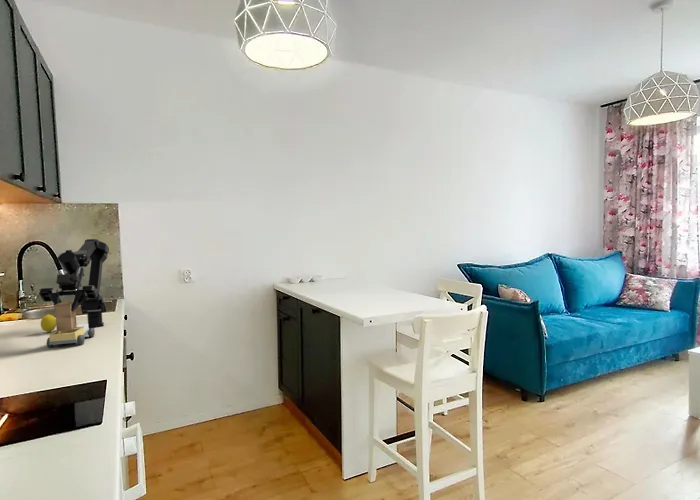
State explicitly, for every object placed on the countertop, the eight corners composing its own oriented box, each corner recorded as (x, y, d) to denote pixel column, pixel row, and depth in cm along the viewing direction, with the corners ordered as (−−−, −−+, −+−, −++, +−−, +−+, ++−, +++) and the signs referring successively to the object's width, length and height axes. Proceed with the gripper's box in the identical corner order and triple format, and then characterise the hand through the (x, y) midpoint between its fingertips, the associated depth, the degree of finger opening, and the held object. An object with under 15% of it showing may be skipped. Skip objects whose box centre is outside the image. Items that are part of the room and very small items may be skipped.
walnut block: (62, 328, 164) (60, 302, 164) (76, 326, 165) (74, 301, 165) (56, 331, 159) (54, 305, 159) (71, 330, 161) (69, 304, 160)
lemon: (60, 330, 185) (58, 312, 184) (50, 334, 180) (48, 315, 179) (48, 330, 186) (47, 312, 185) (38, 334, 180) (36, 315, 180)
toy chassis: (64, 337, 173) (63, 325, 173) (95, 335, 176) (94, 322, 175) (45, 349, 157) (44, 335, 157) (80, 346, 160) (79, 332, 160)
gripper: (38, 267, 162) (27, 301, 152) (93, 264, 167) (85, 297, 157) (49, 284, 171) (38, 317, 161) (101, 282, 175) (94, 314, 165)
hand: (64, 311), depth 161 cm, fingers closed on walnut block, 5 cm apart
